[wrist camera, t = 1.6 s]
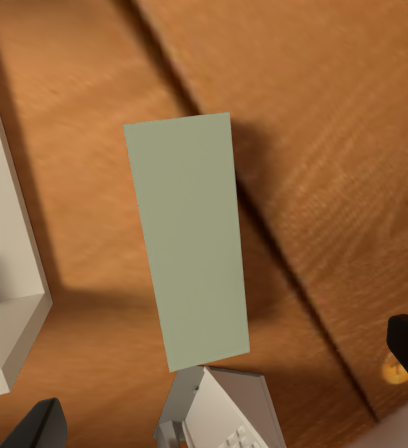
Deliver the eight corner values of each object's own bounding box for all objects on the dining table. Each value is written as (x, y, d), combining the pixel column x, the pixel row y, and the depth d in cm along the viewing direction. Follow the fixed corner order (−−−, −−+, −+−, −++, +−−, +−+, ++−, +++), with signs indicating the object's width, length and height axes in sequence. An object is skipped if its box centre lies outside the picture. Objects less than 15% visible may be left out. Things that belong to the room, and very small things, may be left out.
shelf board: (230, 315, 23) (250, 351, 19) (163, 331, 22) (169, 372, 18) (210, 116, 18) (229, 111, 15) (125, 126, 17) (122, 124, 14)
